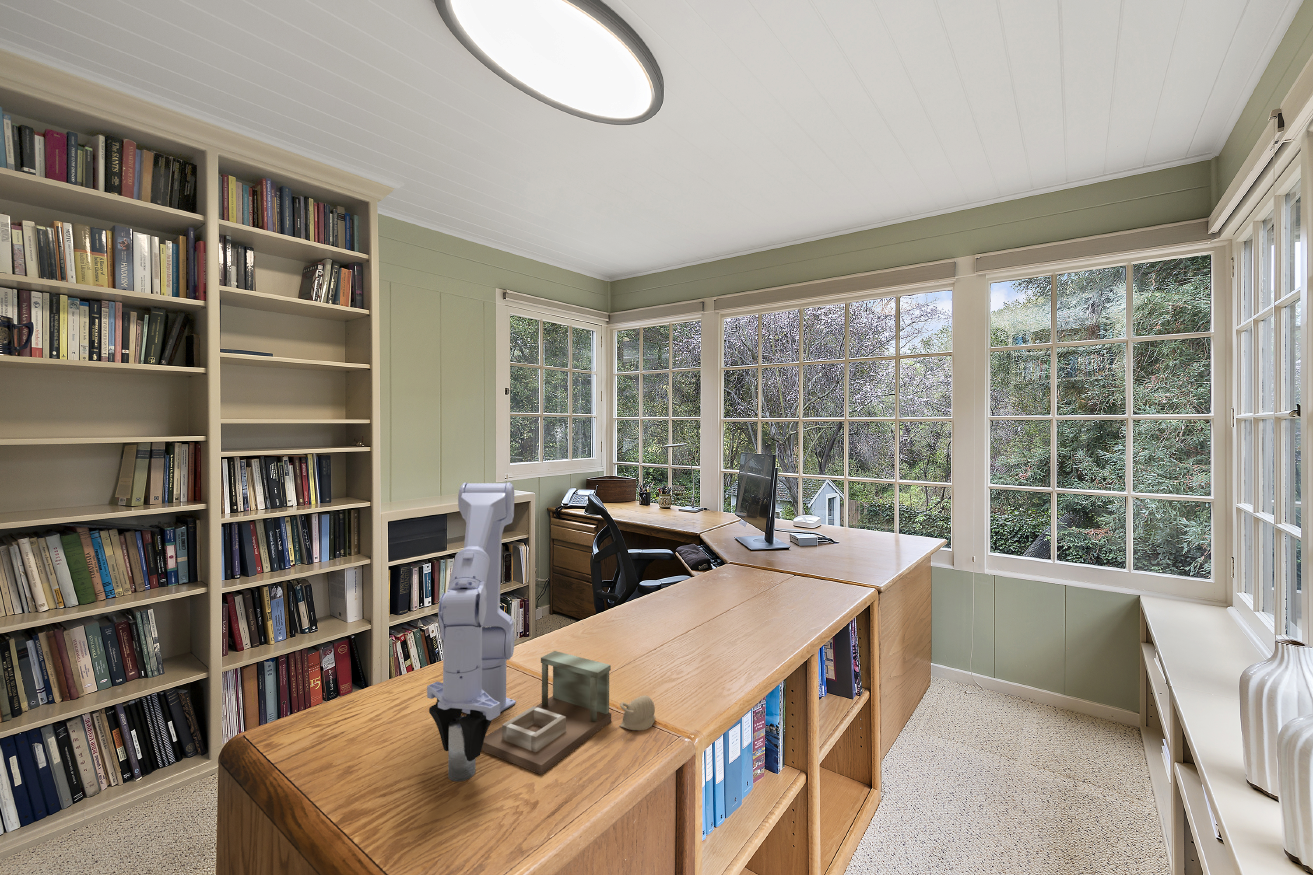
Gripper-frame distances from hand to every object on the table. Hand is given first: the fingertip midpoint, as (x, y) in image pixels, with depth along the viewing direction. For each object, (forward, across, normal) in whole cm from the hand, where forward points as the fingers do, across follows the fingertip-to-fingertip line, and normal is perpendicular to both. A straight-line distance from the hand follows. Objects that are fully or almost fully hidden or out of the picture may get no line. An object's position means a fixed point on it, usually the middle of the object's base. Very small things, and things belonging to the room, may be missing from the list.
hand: (462, 752), depth 85 cm
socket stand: (+3, +4, +16) cm, 16 cm away
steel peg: (+3, 0, 0) cm, 3 cm away
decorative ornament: (+3, +16, +26) cm, 31 cm away
